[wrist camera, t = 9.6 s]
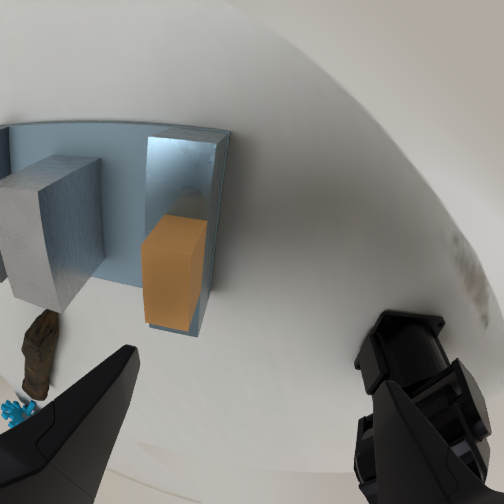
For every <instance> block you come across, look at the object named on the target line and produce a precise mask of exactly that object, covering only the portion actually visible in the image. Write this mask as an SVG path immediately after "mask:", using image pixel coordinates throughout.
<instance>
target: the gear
mask: <svg viewBox="0 0 504 504" xmlns="http://www.w3.org/2000/svg"><path fill="white" fill-rule="evenodd" d="M35 405H36V403H35V402H34V401H32V400H31V402H30V404H29V406H28V407H27V406H25V405H24V406H23V408H21V407H20V405H19V403H18V402H17V401H14V402H13V404H12V403H11V402H10V401H8V400H7V401H6V403H5V404H2V405H1V410H2V411H3V412H2V417H3V418H4V419H5V420H7V419H8V417H10V418H11V419H12V420H13V421H10V422H9V424H8V426H9V427H10V428H12V427H14V426H16V425H17V424H19V423H21V422H23V421H24V420H26V419H27V418H29V417H31V416H32V415H34V414H35V413H34V412H33V414H31V412H32V410H33V408H34V406H35ZM6 411H8V412H9V413H7V412H6Z"/></svg>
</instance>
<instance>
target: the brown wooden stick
mask: <svg viewBox="0 0 504 504" xmlns="http://www.w3.org/2000/svg"><path fill="white" fill-rule="evenodd" d="M57 339H58V319H57V313H56V312H55V311H52V310H49V309H46V310H45V311H44V312H43V313H42V314H41V315H39V316H38V317H37V318H36V319H35V321H34V322H33V323H32V325H31V326H30V328H29V329H28V330H27V331H26V333H25V337H24V342H23V345H22V349H21V350H22V353H23V354H24V356H25V378H24V380H23V384H22V389H23V390H24V391H25V392H26V393H27V395H29V396H30V397H31V398H32V399H34V400H38V401H44V400H45V399H46V398H47V395H48V393H47V392H48V390H49V372H50V368H51V367H50V365H51V359H52V353H53V349H54V345H55V343H56V341H57Z"/></svg>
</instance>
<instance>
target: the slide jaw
mask: <svg viewBox="0 0 504 504" xmlns="http://www.w3.org/2000/svg"><path fill="white" fill-rule="evenodd" d="M226 139H227V134H223V133H215V132H207V131H199V130H190V129H180V128H169V129H166V130H164V131H161V132H159V133H156V134H154V135H151V136H149V137H148V147H147V164H146V189H145V240H144V242H143V243H142V244H141V265H142V284H143V299H144V311H145V322H146V323H149V326H150V327H151V328H155V329H160V330H164V331H169V332H173V333H178V334H183V335H188V336H193V337H198V335H199V331H200V327H201V324H202V320H203V317H204V313H205V309H206V306H207V299H208V289H209V279H210V269H211V259H212V250H213V241H214V232H215V223H216V215H217V206H218V198H219V190H220V183H221V175H222V168H223V160H224V153H225V146H226Z"/></svg>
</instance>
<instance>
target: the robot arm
mask: <svg viewBox="0 0 504 504" xmlns="http://www.w3.org/2000/svg"><path fill="white" fill-rule="evenodd" d="M387 317H388V318H387ZM385 318H386V319H385ZM444 325H445V321H444V319H443V318H442V317H435V316H425V315H416V314H406V313H398V312H389V311H387V312H384V313H382V314H381V315H380V317H379V319H378V321H377V323H376V325H375V327H374V329H373V330H372V332H371V334H370V335H369V336H368V338H367V340H366V342H365V343H364V345H363V347H362V349H361V350H360V352H359V354H358V357H357V359H356V361H355V362H354V366H355V369H357V370H361V372H362V377H363V381H364V386H365V390H366V393H367V394H368V395H372V400H373V413H372V414H370V415H368V416H367V417H366V416H364V417H362V418H360V419H359V421H358V431H357V441H356V449H355V457H354V471H355V473H356V476H357V479H358V481H359V482H360V484H359V489H360V490H361V491H362V493H363V494H364V495H365V497H366V499H367V501H368V502H369V504H504V493H502V492H498V491H494V490H492V489H490V488H488V487H487V486H486V485H485V481H486V477H487V471H488V465H489V458H490V447H489V444H488V442H487V439H486V437H488V436H490V435H491V433H492V432H491V426H490V422H489V417H488V412H487V408H486V404H485V400H484V397H483V395H482V393H481V391H480V389H479V387H478V385H477V383H476V381H475V379H474V377H473V376H472V375H471V374H470V372H469V371H468V370H467V369H466V367H465V366H464V365H463V364H462V363H461V361H460V360H459V359H458V358H457V359H455V360H454V361H453V362H451V363H452V364H450V362H449V360H448V358H447V356H446V353H445V351H444V349H443V347H442V345H441V343H440V341H439V339H438V337H437V336H438V334H439V333H440V331H441V330H442V328H443V327H444ZM139 368H140V359H139V353H138V349H137V347H135V346H132V345H127V344H126V345H124V346H122V347H121V348H120V349H119V350H117V351H116V352H115V353H113V354H112V355H111V356H109V357H108V358H107V359H106V360H104V361H103V362H102V363H100V364H99V365H98V366H97V367H95V368H94V369H93V370H91V371H90V372H89V373H87V374H86V375H85V376H84V377H82V378H81V379H80V380H78V381H77V382H76V383H75V384H73V385H72V386H71V387H69V388H68V389H67V390H66V391H64V392H63V393H62V394H60V395H59V396H58V397H57V398H55V399H54V401H51V402H50V403H49V404H47V405H46V406H45V407H43V408H42V409H41V410H39V411H38V412H37V413H35V414H34V415H32V416H31V417H29V418H27V419H26V420H24V421H23V422H21V423H19V424H17V425H16V426H14V427H12V428H11V429H9V430H7V431H6V432H4V433H2V434H0V504H93V503H94V498H95V497H96V494H97V491H98V488H99V485H100V482H101V480H102V476H103V474H104V471H105V468H106V466H107V463H108V460H109V457H110V455H111V452H112V449H113V447H114V444H115V441H116V439H117V436H118V433H119V431H120V428H121V426H122V423H123V421H124V418H125V415H126V413H127V410H128V408H129V405H130V401H131V398H132V394H133V390H134V386H135V383H136V379H137V375H138V372H139Z"/></svg>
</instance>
